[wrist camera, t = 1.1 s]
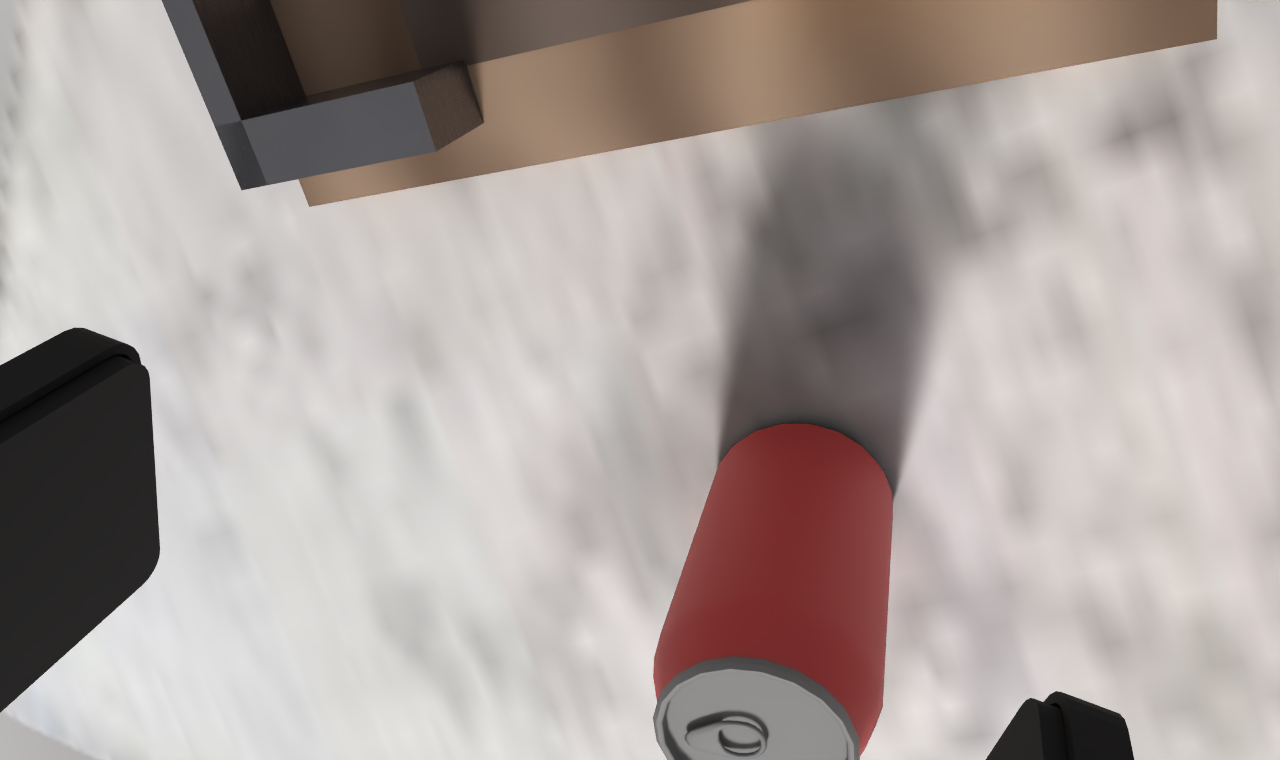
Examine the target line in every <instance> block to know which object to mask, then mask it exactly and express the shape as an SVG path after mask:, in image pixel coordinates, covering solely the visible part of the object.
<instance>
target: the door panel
mask: <svg viewBox="0 0 1280 760" xmlns="http://www.w3.org/2000/svg"><path fill="white" fill-rule="evenodd" d="M270 2H271V5H272V7H273V10H274V13H275V15H276V18H277V21H278V23H279V26H280V29H281V31H282V34H283V37H284V39H285V42H286V45H287V47H288V50H289V53H290V55H291V58H292V61H293V63H294V66H295V68H296V71H297V74H298V76H299V79H300V82H301V84H302V87H303V90H304V92H305V95H306V96H308V95H312V94H316V93H320V92H325V91H329V90H333V89H338V88H342V87H346V86H351V85H355V84H359V83H364V82H368V81H372V80H376V79H381V78H385V77H389V76H394V75H398V74H402V73H407V72H411V71H415V70H419V69H425V68H429V67H434V66H438V65H442V64H446V63H451V62H455V61H459V60H464V63H465V66H467V68H468V71H469V74H470V78H471V81H472V84H473V88H474V91H475V94H476V98H477V101H478V104H479V108H480V111H481V114H482V117H483V121H484V123H483V124H482V125H480V126H478V127H477V128H475V129H473V130H472V131H470V132H468V133H467V134H465V135H463V136H462V137H460V138H458V139H457V140H455V141H453V142H452V143H450V144H448V145H447V146H445V147H443V148H442V149H440V150H438V151H437V152H432V153H427V154H422V155H417V156H412V157H407V158H402V159H397V160H392V161H387V162H382V163H377V164H372V165H367V166H361V167H356V168H351V169H346V170H341V171H336V172H331V173H326V174H321V175H316V176H311V177H306V178H301V179H299V182H300V184H301V187H302V189H303V192H304V194H305V197H306V199H307V202H308V205H309V207H311V206H316V205H321V204H327V203H332V202H338V201H343V200H349V199H354V198H359V197H365V196H370V195H376V194H381V193H386V192H392V191H397V190H403V189H408V188H413V187H419V186H424V185H430V184H435V183H441V182H446V181H451V180H457V179H462V178H468V177H473V176H478V175H484V174H489V173H495V172H500V171H505V170H511V169H516V168H522V167H527V166H532V165H538V164H543V163H549V162H554V161H560V160H565V159H570V158H576V157H581V156H587V155H592V154H597V153H603V152H608V151H614V150H619V149H624V148H630V147H635V146H641V145H646V144H652V143H657V142H662V141H668V140H673V139H679V138H684V137H689V136H695V135H700V134H706V133H711V132H716V131H722V130H727V129H733V128H738V127H743V126H749V125H754V124H760V123H765V122H771V121H776V120H781V119H787V118H792V117H798V116H803V115H808V114H814V113H819V112H825V111H830V110H835V109H841V108H846V107H852V106H857V105H862V104H868V103H873V102H879V101H884V100H890V99H895V98H900V97H906V96H911V95H917V94H922V93H927V92H933V91H938V90H944V89H949V88H954V87H960V86H965V85H971V84H976V83H982V82H987V81H992V80H998V79H1003V78H1009V77H1014V76H1019V75H1025V74H1030V73H1036V72H1041V71H1046V70H1052V69H1057V68H1063V67H1068V66H1073V65H1079V64H1084V63H1090V62H1095V61H1101V60H1106V59H1111V58H1117V57H1122V56H1128V55H1133V54H1138V53H1144V52H1149V51H1155V50H1160V49H1165V48H1171V47H1176V46H1182V45H1187V44H1192V43H1198V42H1203V41H1209V40H1214V39H1217V0H270Z"/></svg>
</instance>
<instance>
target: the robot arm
mask: <svg viewBox="0 0 1280 760" xmlns="http://www.w3.org/2000/svg"><path fill="white" fill-rule="evenodd" d="M159 554H160V543H159V526H158V509H157V493H156V476H155V459H154V443H153V426H152V409H151V393H150V378H149V373H148V370H147V369H146V367H145V366H143V365H141V361H140V357H139V354H138V353H137V351H136V350H135V348H133V347H132V346H130V345H128V344H125V343H123V342H120V341H117V340H115V339H112V338H109V337H106V336H104V335H101V334H98V333H96V332H93V331H90V330H88V329H85V328H72V329H70V330H67V331H64V332H62V333H60V334H58V335H57V336H55V337H53V338H51V339H49V340H47V341H45V342H43V343H41V344H40V345H38V346H36V347H34V348H32V349H30V350H28V351H26V352H25V353H23V354H21V355H19V356H17V357H15V358H13V359H11V360H10V361H8V362H6V363H4V364H2V365H0V712H1V711H3V710H4V709H5V708H6V707H7V706H8V705H9V704H10V703H11V702H13V701H14V700H15V699H16V698H17V697H18V696H19V695H20V694H21V693H23V692H24V691H25V690H26V689H27V688H28V687H29V686H30V685H31V684H33V683H34V682H35V681H36V680H37V679H38V678H39V677H40V676H42V675H43V674H44V673H45V672H46V671H47V670H48V669H49V668H50V667H52V666H53V665H54V664H55V663H56V662H57V661H58V660H59V659H60V658H62V657H63V656H64V655H65V654H66V653H67V652H68V651H69V650H70V649H72V648H73V647H74V646H75V645H76V644H77V643H78V642H79V641H80V640H82V639H83V638H84V637H85V636H86V635H87V634H88V633H89V632H91V631H92V630H93V629H94V628H95V627H96V626H97V625H98V624H99V623H101V622H102V621H103V620H104V619H105V618H106V617H107V616H108V615H109V614H111V613H112V612H113V611H114V610H115V609H116V608H117V607H118V606H119V605H121V604H122V603H123V602H124V601H125V600H126V599H127V598H128V597H129V596H131V595H132V594H133V593H134V592H135V591H136V590H137V589H138V588H140V587H141V586H142V585H143V584H144V583H145V582H146V581H147V579H148V578H149V577H150V575H151V574H152V572H153V571H154V569H155V567H156V565H157V562H158V559H159ZM986 760H1134V756H1133V751H1132V746H1131V741H1130V737H1129V732H1128V728H1127V725H1126V722H1125V719H1124V718H1123V717H1122V716H1121V715H1120V714H1119V713H1116V712H1113V711H1111V710H1108V709H1105V708H1103V707H1100V706H1097V705H1095V704H1092V703H1089V702H1087V701H1084V700H1081V699H1079V698H1076V697H1073V696H1070V695H1068V694H1065V693H1062V692H1057V691H1056V692H1054V693H1052V694H1050V695H1049V696H1048V698H1047V699H1046V700H1045V701H1044V702H1041V701H1039V700H1036V699H1033V698H1029V699H1028V700H1026V701H1025V702H1024V703H1023V705H1022V706H1021V707H1020V709H1019V710H1018V712H1017V713H1016V715H1015V716H1014V718H1013V719H1012V721H1011V722H1010V724H1009V725H1008V727H1007V728H1006V730H1005V731H1004V733H1003V734H1002V736H1001V737H1000V739H999V740H998V742H997V743H996V745H995V746H994V748H993V750H992V751H991V753H990V754H989V756H988V757H987V759H986Z"/></svg>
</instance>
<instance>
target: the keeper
mask: <svg viewBox="0 0 1280 760" xmlns="http://www.w3.org/2000/svg"><path fill="white" fill-rule="evenodd" d="M162 2H163V4H164V7H165V9H166V12H167V14H168V16H169V19H170V21H171V23H172V26H173V28H174V31H175V33H176V35H177V38H178V40H179V42H180V45H181V47H182V50H183V52H184V54H185V57H186V59H187V61H188V64H189V66H190V69H191V71H192V73H193V76H194V78H195V81H196V83H197V85H198V88H199V90H200V92H201V95H202V97H203V100H204V102H205V104H206V107H207V109H208V111H209V114H210V116H211V119H212V121H213V123H214V126H215V128H216V130H217V133H218V135H219V138H220V140H221V142H222V145H223V147H224V149H225V152H226V154H227V157H228V159H229V161H230V164H231V166H232V168H233V171H234V173H235V176H236V178H237V180H238V183H239V185H240V187H241V190H245V189H250V188H255V187H260V186H265V185H270V184H275V183H281V182H286V181H291V180H296V179H301V178H306V177H311V176H316V175H321V174H326V173H331V172H336V171H341V170H346V169H351V168H356V167H361V166H367V165H372V164H377V163H382V162H387V161H392V160H397V159H402V158H407V157H412V156H417V155H422V154H427V153H432V152H437V151H438V150H440V149H442V148H443V147H445V146H447V145H448V144H450V143H452V142H453V141H455V140H457V139H458V138H460V137H462V136H463V135H465V134H467V133H468V132H470V131H472V130H473V129H475V128H477V127H478V126H480V125H482V124H483V123H484V121H483V117H482V114H481V111H480V108H479V104H478V101H477V98H476V94H475V91H474V88H473V84H472V81H471V78H470V74H469V71H468V68H467V66H465V63H464V60H459V61H455V62H451V63H446V64H442V65H438V66H434V67H429V68H425V69H419V70H415V71H411V72H407V73H402V74H398V75H394V76H389V77H385V78H381V79H376V80H372V81H368V82H364V83H359V84H355V85H351V86H346V87H342V88H338V89H333V90H329V91H325V92H320V93H316V94H312V95H308V96H306V95H305V92H304V90H303V87H302V84H301V82H300V79H299V76H298V74H297V71H296V68H295V66H294V63H293V61H292V58H291V55H290V53H289V50H288V47H287V45H286V42H285V39H284V37H283V34H282V31H281V29H280V26H279V23H278V21H277V18H276V15H275V13H274V10H273V7H272V5H271V2H270V0H162Z"/></svg>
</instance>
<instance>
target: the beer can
mask: <svg viewBox="0 0 1280 760" xmlns="http://www.w3.org/2000/svg"><path fill="white" fill-rule="evenodd" d="M892 520H893V498H892V491H891V488H890V486H889V483H888V481H887V478H886V476H885V473H884V471H883V469H882V468H881V467H880V466H879V465H878V463H877V462H876V461H875V460H874V459H873V458H872V457H871V455H870V454H869V453H868V452H867V451H866V450H865V449H864V447H862V446H861V445H859V444H857V443H856V442H854V441H852V440H851V439H849V438H848V437H846V436H844V435H843V434H841V433H840V432H837V431H833V430H830V429H826V428H823V427H820V426H816V425H813V424H779V425H776V426H772V427H768V428H764V429H761V430H757V431H755V432H753V433H752V434H750V435H749V436H747V437H745V438H744V439H742V440H741V441H739V442H738V443H736V444H735V445H733V446H732V448H731V449H730V450H729V452H728V453H727V454H726V456H725V457H724V458H723V460H722V461H721V462H720V464H719V466H718V469H717V472H716V474H715V477H714V480H713V483H712V486H711V489H710V492H709V495H708V498H707V501H706V504H705V506H704V509H703V512H702V515H701V518H700V521H699V524H698V527H697V530H696V533H695V536H694V538H693V541H692V544H691V547H690V550H689V553H688V556H687V559H686V562H685V565H684V567H683V570H682V573H681V576H680V579H679V582H678V585H677V588H676V591H675V594H674V597H673V599H672V602H671V605H670V608H669V611H668V614H667V617H666V620H665V623H664V626H663V629H662V631H661V635H660V638H659V642H658V646H657V650H656V653H655V657H654V674H653V678H654V684H655V691H656V697H657V706H656V709H655V713H654V716H653V721H654V727H655V733H656V739H657V742H658V744H659V746H660V747H661V749H662V751H663V753H664V754H665V756H666V758H667V760H860V756H861V754H862V752H863V751H864V749H865V748H866V745H867V743H868V741H869V739H870V737H871V735H872V732H873V730H874V728H875V726H876V723H877V721H878V718H879V715H880V713H881V710H882V707H883V689H884V670H885V652H886V633H887V614H888V595H889V577H890V558H891V539H892Z"/></svg>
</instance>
